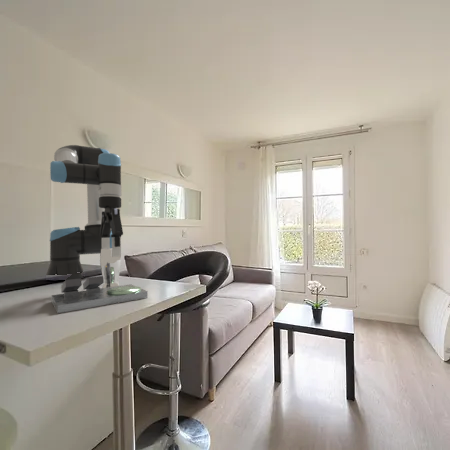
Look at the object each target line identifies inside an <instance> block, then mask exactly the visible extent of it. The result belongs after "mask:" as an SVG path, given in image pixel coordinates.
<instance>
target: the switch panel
mask: <svg viewBox="0 0 450 450" xmlns="http://www.w3.org/2000/svg"><path fill="white" fill-rule="evenodd" d="M142 299H148V290H146V289H143V288H142V287H141V286H138V285H137V286H136V285H134V284H123V285H120V286H115V287H108V288H102V287H101V288H100V286H99V287H94V288H87V289H85V290H81V291H79V289H78V290H72V291H65V292H64V293H59V294H58V293H57V294H52V295H51V300H50V301H51V304H52V306H53V307H54V309H55V311H56V314H63V313H68V312H74V311H79V310H80V311H81V310H86V309H90V308H97V307H102V306H109V305H114V304H119V303H125V302H130V301H136V300H142Z"/></svg>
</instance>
